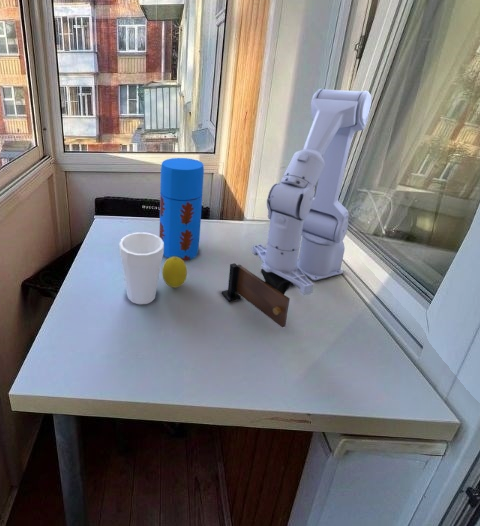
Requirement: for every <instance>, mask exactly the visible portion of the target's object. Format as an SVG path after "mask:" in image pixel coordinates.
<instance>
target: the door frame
mask: <svg viewBox="0 0 480 526" xmlns="http://www.w3.org/2000/svg"><path fill="white" fill-rule="evenodd" d="M237 265H238V264H237V263H231V264H229V273H228V274H229V275H228V283H227V284H228V285H227V286H228V287H227V289H226V290H221V295H222V296H223V297H224V298H225V299H226V300H227V302H228V303H231V302H235V301H239V300H242V296H241V295H239V294H238V293H237V292H235V291H236V282H237V272H238V266H237ZM293 286H295V285H294V284H292V285H291V286H290V287H293Z"/></svg>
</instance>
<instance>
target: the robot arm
mask: <svg viewBox="0 0 480 526" xmlns="http://www.w3.org/2000/svg"><path fill="white" fill-rule="evenodd" d="M310 102H311V103H310V114H311V115H310V116H311V120H312V124H311V127H310V129H309V132H308V134H307V137H306V139H305V143H304V145H303V148H302V149H301V150H298V151H297V150H296V151H295V152H294V153H293V155H292V157H291V159H290V162H289V163H288V166H287V167H286V169H285V171H284V173H283V174H282V175H283V176H282V178H281V179H280V181H279V182H278V183H274V184H273V185H272V186H271V187H270V189H269V191H268V195H267V198H266V208H267V217H268V220H269V226H268V234H267V243H266V246H264V245H263V244H260V243H259V244H255V245H252V251H251V253H252V255H254V256H258V258H259V259H260V261H261V262H262V263H261V265H260V268H261V269H260V274H261V276H262V277H263V281H265V282H266V283H268V284H269V285H271V286H272V287H274V288H275V289H277V290H278V291H280V292H281V293H283V294H284V295H285V294H286V292H287V291H288V290H289V288H290V287H292V286H291V285H292V284H294V285H293V286H295V287H297V288H298V289H299V293H300V294H302V296H306V295H310V294H312V293H313V291H314V285H315V284H314V283H313V282H312V281H319V280H323V279H328V278H331V277H334V276H338V275H342V274H344V270H342V269H341V268H342V264H343V259H344V254H345V249H346V248H345V243H344V240H345V237H346V235H347V232H348V228H349V216H350V214H349V210H348V209H347V208H346V207H345V205H343V204H342V203H341V202H340V201H339V198H340V197H339V196H340V192H341V188H342V185H343V180H344V179H343V178H344V175H345V170H346V166H347V163H348V162H347V161H348V157H349V153H350V149H351V144H352V140H353V138H354V135H355V133H356V132H358V131H364V130H365V127H366V125H367V123H368V119H369V115H370V111H371V106H372V95H371V93H370V92H369V91H368V90H363V91H361V90H343V89H324V88H319V89H317V90H316V91H315V92H314V94H313V95H312V98H311V101H310ZM315 187H316V189H315ZM311 280H312V281H311Z"/></svg>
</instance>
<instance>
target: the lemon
mask: <svg viewBox="0 0 480 526" xmlns="http://www.w3.org/2000/svg"><path fill="white" fill-rule="evenodd" d="M161 272H162V279H163V281H164V283H165V284H166V285H167V286H169V287H171V288H173V289H175V288H179V287H181V286H182V285H184V284H185V282H186V280H187V276H188V270H187V265H186V263H185V261H183V260H182V259H181V258H179V257H176V256H174V257H170V258H167V259H166V260H165V262H164V263H163V265H162V271H161Z"/></svg>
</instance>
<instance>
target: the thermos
mask: <svg viewBox="0 0 480 526" xmlns="http://www.w3.org/2000/svg"><path fill="white" fill-rule="evenodd" d="M204 167H205V166H204V163H203V162H202V161H200V160H197V159H194V158H189V157H173V158H167V159H164V160H163V161H162V162H161V165H160V190H159V191H160V192H159V193H160V194H159V195H160V196H159V232H158V234H159V235H158V237H160V238H161V239H162V241H163V242H164V253H163V257H165V258H167V259H168V258H170V257H174V256H176V257H179V258H181V259H182V260H183V261H184V262H185V261H191V260H192V259H194V258H195V257H197V256H198V252H199V246H200V239H201V238H200V236H201V222H202V221H201V220H202V208H203V207H202V203H203V189H204V174H205V173H204V172H205V169H204Z"/></svg>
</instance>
